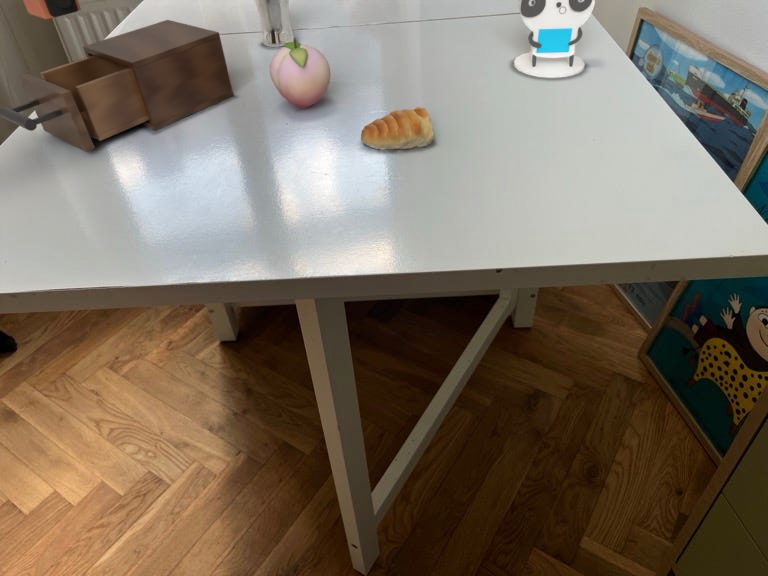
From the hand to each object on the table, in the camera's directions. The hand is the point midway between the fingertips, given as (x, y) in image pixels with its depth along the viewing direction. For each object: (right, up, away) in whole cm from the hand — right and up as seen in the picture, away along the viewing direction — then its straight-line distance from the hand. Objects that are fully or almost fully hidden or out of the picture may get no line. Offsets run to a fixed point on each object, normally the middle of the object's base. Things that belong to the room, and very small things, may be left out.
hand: (53, 8), depth 66 cm
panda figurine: (+67, +4, +26) cm, 72 cm away
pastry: (+42, -14, +8) cm, 45 cm away
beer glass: (+19, +14, +41) cm, 47 cm away
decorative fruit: (+28, -6, +17) cm, 33 cm away
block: (0, 0, 0) cm, 0 cm away
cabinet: (+6, -4, +20) cm, 22 cm away
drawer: (-2, -11, +12) cm, 17 cm away
